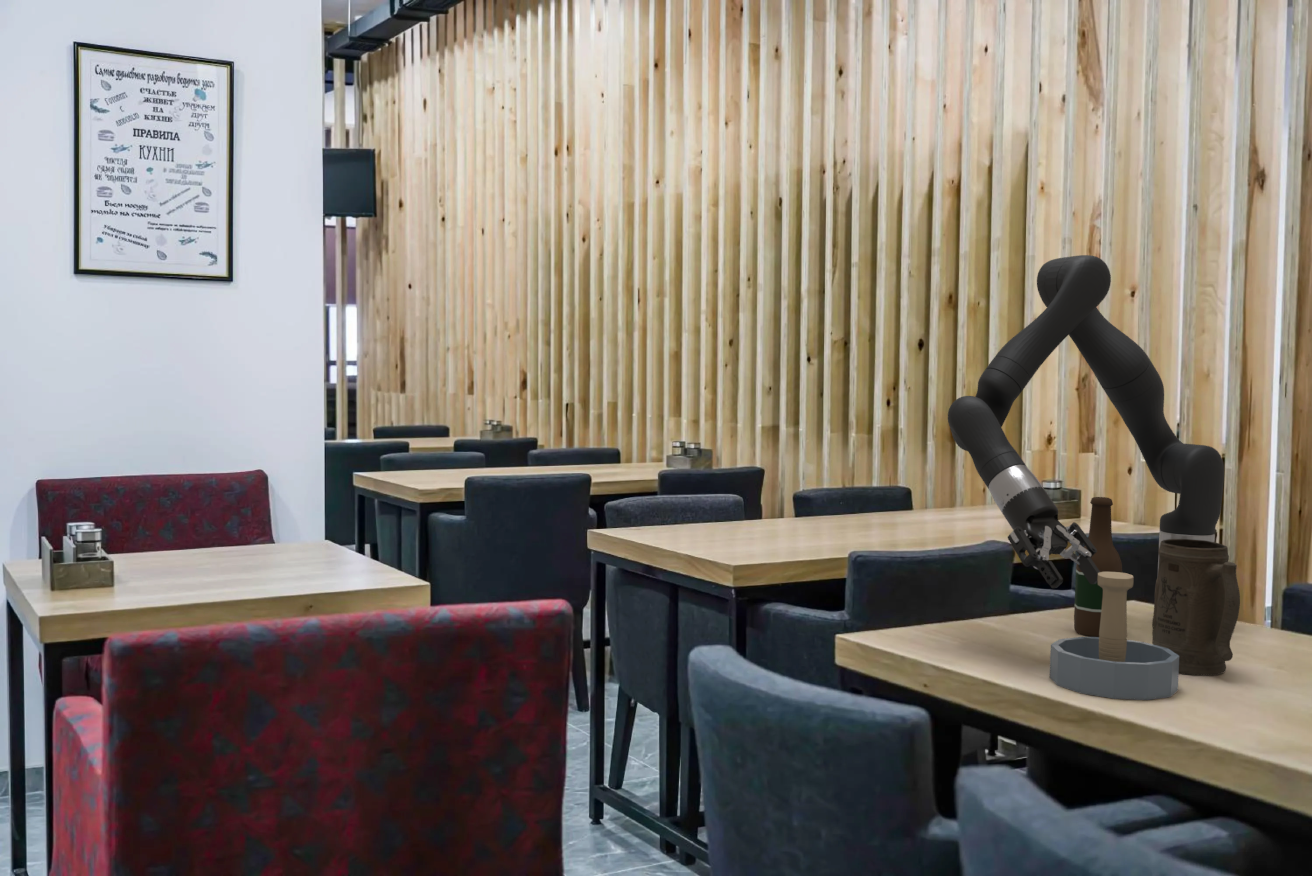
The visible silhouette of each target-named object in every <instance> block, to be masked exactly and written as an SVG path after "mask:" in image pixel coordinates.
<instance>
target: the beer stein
mask: <svg viewBox="0 0 1312 876" xmlns="http://www.w3.org/2000/svg"><path fill="white" fill-rule="evenodd" d="M1158 557H1159V568H1158V567H1157V578H1156V580H1155V586H1154V607H1153V615H1152V620H1151V621H1152V622H1151V624H1152V633H1151V636H1152V642H1151V644H1153V645H1157V646H1160V647H1164V648H1168V649H1170V650H1171V651H1173V652H1174V653H1176V654H1177V655H1179V674H1182V675H1188V676H1190V675H1191V676H1216V675H1221V674H1223V673H1225V672H1226V671H1227V665H1226V662H1229V661H1231V660H1232V659H1233V655H1234V654H1233V651H1232V648H1231V640H1232V637H1233V634H1234V631H1235V629H1236V625H1237V623H1238V618H1239V614H1240V606H1241V595H1240V587H1239V583H1238V578H1237V564H1236V563H1235V562H1232V561H1229V560H1230V556H1229V550H1228V546H1227V545H1224V544H1223V543H1219V542H1210V541H1205V540H1192V539H1167V540H1163V541H1161V543H1160V548H1159V547H1158Z"/></svg>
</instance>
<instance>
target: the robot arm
mask: <svg viewBox="0 0 1312 876" xmlns="http://www.w3.org/2000/svg"><path fill="white" fill-rule="evenodd" d="M1111 278H1112V276H1111V271H1110V268H1109V266H1108V265H1107V263H1106V262H1105V261H1104V260H1103V259H1102V258H1099V257H1098V256H1095V255H1088V254H1087V255H1086V254H1084V255H1080V254H1079V255H1073V256H1063V257H1058V258H1053V259H1050V260H1049V261H1047V262H1045V263H1044V264H1042V265H1041V267H1039V271H1038V273H1037V276H1036V287H1037V292H1038V295H1039V297H1040V299H1041V301H1042V303H1043V304H1044V305H1045V307H1046V308H1045V309H1044V310H1043V311H1042V312H1041V314H1039V315H1038V316H1037V317H1036V318H1035V319H1033V321H1032V322H1030V323H1029V324H1028V325H1027V326H1025V327H1023V329H1022V330H1020V331H1019V332H1018V333H1016V334H1015V335H1014V336H1013V337H1011V338H1010V339H1009V340H1008V341H1007V342H1006V343H1005V344H1004V345H1003V346H1002V347H1001V348H1000V349H999V351H998V352H997V353H996V354H995V356H994V357H993V358H992V360H991V361H990V362H989V364H988V365H987V367H986V368H985V370H984V371H983V372H982V373H981V375H980V376H979V378H978V381H977V389H976V394H975V395H963V396H961V397H958V398H957V399H955V400H954V401H953V402H952V403H951V404H950V406H949V408H948V411H947V412H948V413H947V422H948V426H949V429H950V432H951V434H952V438H953V440H954V442H955V444H956V445H957V446H958V447H959V448H960V449H962V450H963V451H965V452H968V454H969V455H970V457H971V459H972V461H973V465H974V467H975V470H976V472H977V474H978V476H979V477H980V478H981V480H982V482H983V483H984V485H986V487H987V489H988V491H989V492H990V494H991V497H992V499H993V501H994V503H995V505H996V506H997V507H998V509H999V510H1000V512H1001V513H1002V515H1003V516H1004V518H1005V520H1006V521H1007V522H1008V524H1009V526H1010V527H1011V529H1012V531H1011V532H1010V533H1009V534H1008V535H1007V540H1008V542H1009V543H1010V545H1011V547H1012V548H1013V550H1014V552H1015V553H1016V554H1017V557H1018V558H1019V560H1020V561H1021V563H1022V565H1023V566H1024V567H1025V568H1028V567H1030V566H1031V567H1033V568H1034V569H1035V570H1038V571H1039V573H1040V574H1041V576H1042V577H1043V578H1044V580H1045V583H1046V584H1048V585H1049V587H1050V588H1051V589H1058V587H1060V586H1061V585H1062V584H1063V582H1064V578H1063V576H1062V575H1061V573H1060V572H1059V571H1058V569H1057V567H1056V566H1055V564H1054V563H1053V561H1052V560H1050V556H1051V555H1059V556H1061V557H1062V558H1063V559H1066V560H1067V559H1069V560H1071V561H1073V562H1074V563H1075V564H1076V565H1077V564H1078V565H1079V566H1078V567H1079V568H1080V570H1081V571H1082V573H1083V574H1084V576H1085V577H1086V579H1087V580H1088V581H1089V583H1090V584H1096V583H1097V582H1098V581H1097V579H1098V573H1100V571H1099V569H1098V568H1097V566H1096V565H1095V563H1094V562H1093V561H1092V559H1091V557H1092V556H1093V555H1094V554H1095V553H1096V552H1097V549H1096V548H1095V547H1094V545H1093V544H1092V543H1091V541H1090V540H1089V539H1088V536H1087V534H1086V533H1085V532H1084V530H1083V529H1082V528H1081V527H1080V525H1079V524H1078V523H1076V521H1074V522H1072V523H1071V524H1070V525H1068V526H1065V525H1063V524H1062V523H1061V522H1060V520H1059V508H1058V507H1057V506H1056V504H1055V502H1054V501H1053V500H1052V498H1051V497H1050V495H1049V493H1047V492H1048V491H1046V489H1045V488H1044V487H1043V485H1042V483H1041V482H1040V481H1039V479H1038V478H1037V477H1036V475H1035V474H1034V473H1033V472H1032V471H1031V470H1030V469H1029V467H1028V466H1027V465H1026V463H1025V462H1024V460H1023V459H1022V457H1021V456H1020V454H1019V453H1018V451H1017V450H1016V449H1015V448H1014V447H1013V446H1012V444H1011V443H1010V441H1009V440H1008V438H1007V435H1006V434H1005V432H1004V430H1003V428H1002V427H1003V425H1004V423H1005V421H1006V419H1007V417H1008V415H1009V413H1010V411H1011V408H1012V406H1013V404H1014V402H1015V401H1016V399H1017V398H1018V397H1019V396H1020V395H1021V393H1022V392H1023V390H1024V389H1025V388H1026V386H1027V385H1028V384H1029V383H1030V381H1031V379H1032V378H1033V377H1034V376H1035V374H1036V372H1037V371H1038V370H1039V369H1040V368H1041V366H1042V365H1044V362H1045V361H1046V360H1047V359H1048V358H1049V356H1051V354H1052V353H1053V352H1054V351H1055V350H1056V349H1057V348H1058V347H1059V345H1060V344H1061V343H1062V342H1063V341H1064V340H1066V338H1067V337H1068V336H1069V337H1070V339H1071V341H1072V342H1073V343H1074V345H1075V346H1076V348H1077V350H1078V351H1079V353H1080V354H1081V356H1082V357H1083V359H1084V360H1085V362H1086V363H1087V365H1088V366H1089V368H1090V369H1091V371H1092V373H1093V374H1094V376H1095V378H1096V379H1097V381H1098V383H1099V385H1100V386H1101V388H1102V389H1103V391H1104V393H1105V394H1106V396H1107V398H1108V399H1109V400H1110V402H1111V403H1112V405H1113V407H1114V408H1115V409H1116V410H1117V413H1118V415H1119V416H1120V417H1121V419H1122V421H1123V423H1124V424H1125V426H1126V428H1127V429H1128V431H1129V433H1130V434H1131V435H1132V437H1133V439H1134V440H1135V442H1136V445H1137V447H1138V449H1139V451H1140V453H1141V455H1142V458H1143V459H1144V462H1145V463H1146V466H1147V468H1148V471H1149V472H1150V473H1151V475H1152V476H1151V477H1152V478H1153V480H1154V481H1155V483H1156V484H1157V485H1158V486H1159V487H1160V488H1162V489H1163V490H1164V491H1166V492H1169V493H1174V494H1178V495H1179V499H1178V505H1177V507H1176V508H1175V509H1174V510H1172V511H1170V512H1166V513H1164V514H1162V515H1161V516H1160V518H1159V519H1160V520H1159V532H1158V533H1159V534H1158V535H1159V537H1158V549H1159V548H1160V543H1161V541H1163V540H1167V539H1192V540H1205V541H1210V542H1215V539H1216V538H1215V537H1216V528H1217V527H1216V526H1217V524H1218V522H1219V519H1220V516H1221V512H1222V501H1223V493H1224V492H1223V491H1224V483H1225V482H1224V481H1225V465H1224V461H1223V460H1224V459H1223V458H1222V455H1221V454H1220V452H1219V451H1218V450H1217V449H1216V448H1214V447H1212V446H1210V445H1204V444H1193V443H1184V442H1183V441H1181V440H1180V439H1179V438H1178V436H1177V435H1176V434H1175V433H1174V431H1173V430H1172V428H1171V426H1170V425H1169V423H1168V421H1167V420H1166V417H1165V413H1164V411H1165V410H1164V407H1165V406H1164V405H1165V388H1164V383H1163V381H1162V378H1161V376H1160V373H1159V371H1158V370H1157V369H1156V367H1155V366H1154V364H1153V361H1152V360H1151V358H1150V357H1149V356H1148V354H1147V353H1146V352H1145V350H1144V349H1143V348H1142V347H1141V346H1140V345H1139V344H1137V343H1136V342H1135V341H1134V340H1133V338H1131V337H1130V336H1128V334H1125V333H1124V332H1123V331H1122V330H1120V329H1119V328H1117V326H1115V325H1113V324H1112V323H1111V322H1109V320H1108V319H1107V318H1105V317H1104V315H1103V314H1102V313H1101V311H1100V310H1099V308H1097V307H1098V306H1099V305H1100V304H1101V303H1102V301H1104V299H1106V296H1107V295H1108V294H1109V290H1110V288H1111V282H1112V279H1111ZM1215 543H1216V542H1215ZM1069 544H1070V546H1069V547H1068V545H1069ZM1084 546H1086V547H1087V549H1085V548H1084ZM1067 547H1068V548H1067ZM1066 548H1067V549H1066ZM1026 552H1027V553H1026ZM1075 552H1076V553H1077V554H1078V555H1077V554H1076V553H1075ZM1027 554H1028V555H1027ZM1078 556H1079V557H1078ZM1158 568H1159V556H1158V562H1157V569H1158Z"/></svg>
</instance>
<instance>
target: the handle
mask: <svg viewBox="0 0 1312 876" xmlns="http://www.w3.org/2000/svg"><path fill="white" fill-rule="evenodd" d="M1097 581H1098V585H1099V586H1100V587H1102V589H1103V599H1102V610H1101V620H1100V630H1099V659H1100V660H1107V661H1114V662H1125V658H1126V649H1127V648H1126V647H1127V640H1128V620H1127V619H1128V618H1127V617H1128V613H1127V611H1128V609H1127V607H1128V606H1127V600H1128V599H1127V595H1128V590H1130V589H1132V588H1133V587H1134V575H1132V574H1129V573H1126V572H1122V573H1121V572H1100V573H1098V579H1097Z"/></svg>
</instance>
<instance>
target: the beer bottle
mask: <svg viewBox="0 0 1312 876" xmlns="http://www.w3.org/2000/svg"><path fill="white" fill-rule="evenodd" d="M1089 504H1091V511H1090V513H1091V514H1090V521H1089V531H1088V536H1087V537H1088V539H1089V540H1090V541H1091V543H1092V544H1093V545H1094V547H1095V548H1096V549H1097V552H1096V553H1095V554H1094V555H1093V556H1092V557H1091V559H1092V561H1093V562H1094V563H1095V565H1096V566H1097V568H1098V569H1099V571H1100V572H1121V573H1123V563H1122V560H1121V557H1120V554H1119V552H1118V551H1117V548H1115V545H1114V543H1113V536H1112V535H1113V534H1112V531H1113V530H1112V529H1113V528H1112V506H1113V505H1114V503H1113V499H1112V498H1110V497H1106V496H1095V497H1091V500H1090V503H1089ZM1083 547H1084V548H1085V549H1087V547H1086V546H1085V545H1083ZM1077 556H1078V557H1079V555H1077ZM1078 566H1079V565H1078V564H1077V563H1076V565H1075V580H1074V581H1075V583H1074V584H1075V586H1074V607H1073V608H1074V609H1073V612H1074V613H1073V622H1074V623H1073V624H1074V625H1073V627H1074V631H1075V632H1076V633H1077V635H1080V636H1084V637H1099V630H1100V620H1101V610H1102V599H1103V589H1102V587H1100V586H1099V585H1098V582H1097V583H1096V584H1090V583H1089V581H1088V580H1087V579H1086V577H1085V576H1084V574H1083V573H1082V571H1081V570H1080V568H1079V567H1078Z"/></svg>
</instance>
